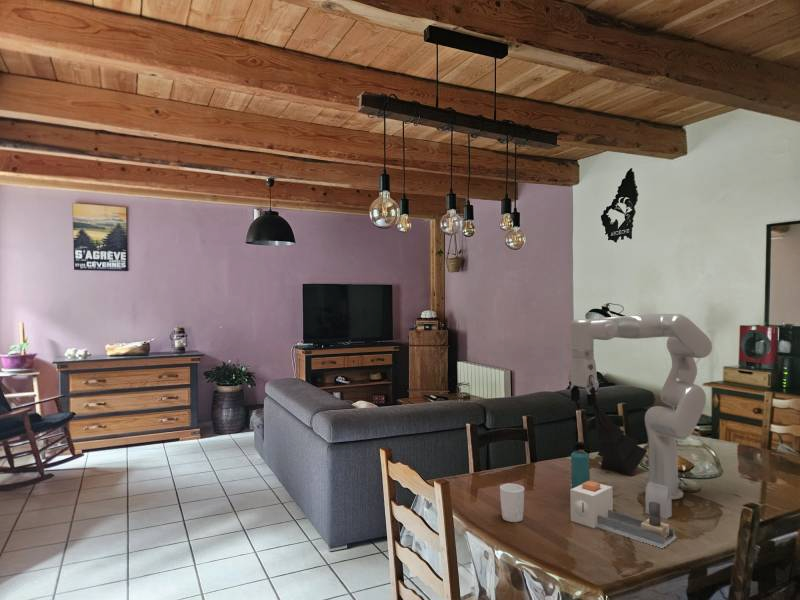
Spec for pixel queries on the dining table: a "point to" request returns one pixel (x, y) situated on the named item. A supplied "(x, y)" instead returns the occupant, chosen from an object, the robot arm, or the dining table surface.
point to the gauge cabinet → (590, 504)
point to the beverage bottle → (579, 465)
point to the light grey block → (659, 499)
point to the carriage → (655, 521)
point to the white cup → (512, 502)
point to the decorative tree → (616, 446)
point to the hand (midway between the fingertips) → (583, 403)
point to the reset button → (591, 486)
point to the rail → (633, 529)
